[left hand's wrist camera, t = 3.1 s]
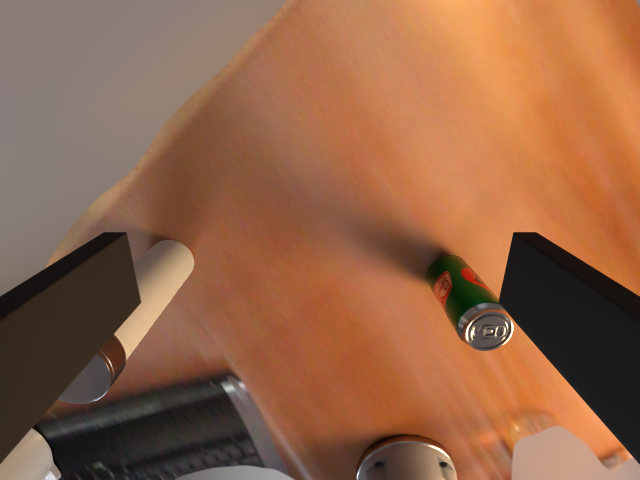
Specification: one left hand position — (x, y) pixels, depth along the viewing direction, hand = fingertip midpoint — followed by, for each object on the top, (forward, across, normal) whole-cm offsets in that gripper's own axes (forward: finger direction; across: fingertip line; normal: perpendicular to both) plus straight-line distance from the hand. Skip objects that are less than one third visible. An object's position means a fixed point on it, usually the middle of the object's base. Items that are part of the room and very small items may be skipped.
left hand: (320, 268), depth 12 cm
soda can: (+28, -15, +14) cm, 35 cm away
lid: (+9, +18, +13) cm, 24 cm away
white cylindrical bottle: (+28, +18, +13) cm, 36 cm away
